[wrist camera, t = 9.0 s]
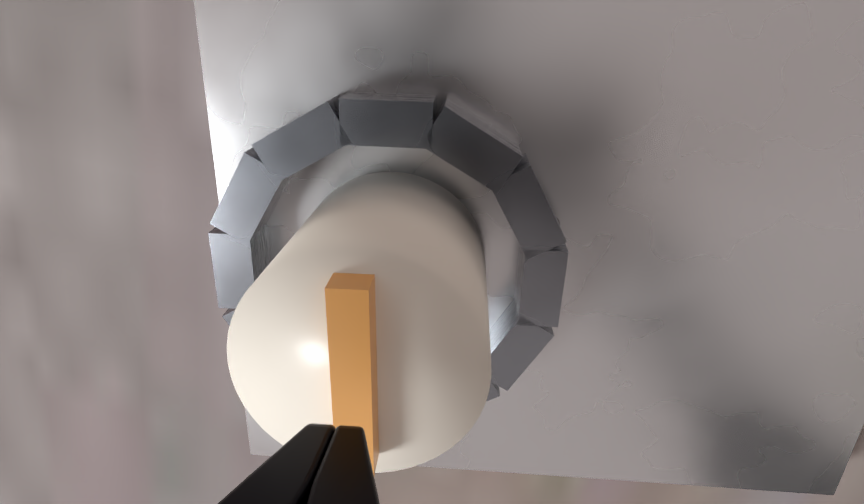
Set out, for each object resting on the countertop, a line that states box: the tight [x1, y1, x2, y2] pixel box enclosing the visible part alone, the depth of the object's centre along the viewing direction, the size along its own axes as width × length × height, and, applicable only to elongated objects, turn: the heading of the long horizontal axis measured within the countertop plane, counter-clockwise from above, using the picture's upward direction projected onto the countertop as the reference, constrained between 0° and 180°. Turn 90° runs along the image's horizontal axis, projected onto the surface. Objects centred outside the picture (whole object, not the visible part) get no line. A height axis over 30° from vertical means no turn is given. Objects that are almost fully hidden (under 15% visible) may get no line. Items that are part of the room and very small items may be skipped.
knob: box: [227, 172, 491, 475], centre depth 12 cm, size 5×5×6 cm
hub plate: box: [194, 0, 864, 495], centre depth 14 cm, size 18×14×2 cm
